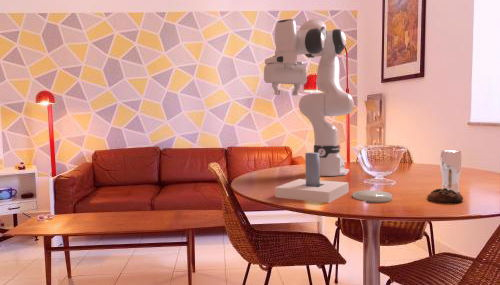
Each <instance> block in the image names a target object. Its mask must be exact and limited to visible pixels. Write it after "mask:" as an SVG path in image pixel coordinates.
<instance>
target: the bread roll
mask: <svg viewBox="0 0 500 285" xmlns="http://www.w3.org/2000/svg"><path fill="white" fill-rule="evenodd" d="M426 197H427V198H426V199H427V200H428V201H430V202H435V203H440V204H448V203H449V205H450V204H451V203H452V204H451V205H457V204H460V202H461V203H462V202H463V200H464V198H463V196H462V194H460V192H459V193H456V192H455V191H453V190H451V189H450V190H447V189H446V188H444V189H442V188H437V189H436V188H435V189H434V190H432V191H431V192H430V193H429V194H427V196H426Z"/></svg>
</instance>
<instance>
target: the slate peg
mask: <svg viewBox="0 0 500 285" xmlns="http://www.w3.org/2000/svg"><path fill="white" fill-rule="evenodd" d="M320 177H321V176H320V156H319V153H314V152H306V153H305V179H306V186H309V187H320Z"/></svg>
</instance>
